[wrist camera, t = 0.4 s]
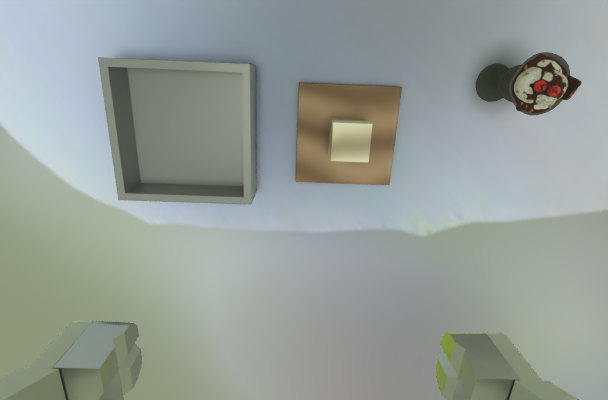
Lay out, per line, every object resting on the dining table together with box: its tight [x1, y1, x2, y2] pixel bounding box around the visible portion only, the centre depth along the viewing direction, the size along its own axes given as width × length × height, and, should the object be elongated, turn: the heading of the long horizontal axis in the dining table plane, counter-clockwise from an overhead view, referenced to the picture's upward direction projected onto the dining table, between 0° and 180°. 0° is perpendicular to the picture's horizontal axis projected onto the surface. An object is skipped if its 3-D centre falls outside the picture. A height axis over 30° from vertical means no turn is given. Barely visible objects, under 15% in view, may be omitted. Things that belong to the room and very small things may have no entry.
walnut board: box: [296, 83, 402, 185], centre depth 51 cm, size 14×14×1 cm
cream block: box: [328, 118, 372, 162], centre depth 48 cm, size 5×5×5 cm
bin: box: [98, 57, 256, 205], centre depth 48 cm, size 18×18×6 cm
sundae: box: [476, 52, 581, 115], centre depth 42 cm, size 7×7×15 cm
